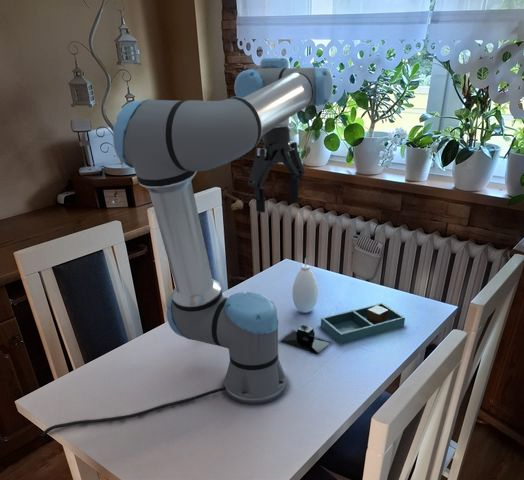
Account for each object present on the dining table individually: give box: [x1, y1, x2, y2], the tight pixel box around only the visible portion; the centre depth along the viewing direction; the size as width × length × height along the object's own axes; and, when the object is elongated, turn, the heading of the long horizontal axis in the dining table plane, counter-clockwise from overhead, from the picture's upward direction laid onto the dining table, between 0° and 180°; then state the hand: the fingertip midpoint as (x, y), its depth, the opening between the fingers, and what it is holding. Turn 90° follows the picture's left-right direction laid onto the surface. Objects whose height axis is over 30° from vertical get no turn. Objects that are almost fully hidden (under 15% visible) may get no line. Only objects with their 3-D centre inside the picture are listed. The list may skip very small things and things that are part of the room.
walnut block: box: [367, 305, 389, 325], centre depth 145 cm, size 4×4×4 cm
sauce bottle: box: [291, 257, 319, 314], centre depth 150 cm, size 8×8×18 cm
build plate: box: [280, 324, 331, 355], centre depth 137 cm, size 12×7×5 cm, turn 54°
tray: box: [320, 302, 406, 345], centre depth 143 cm, size 22×11×3 cm, turn 114°
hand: (277, 206), depth 140 cm, fingers open, 13 cm apart
